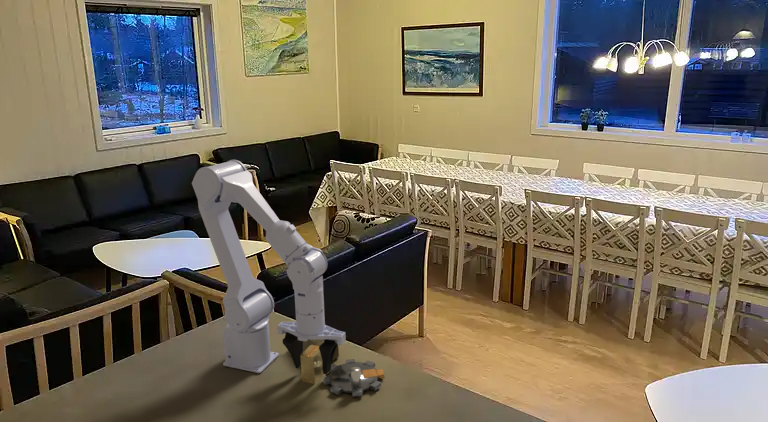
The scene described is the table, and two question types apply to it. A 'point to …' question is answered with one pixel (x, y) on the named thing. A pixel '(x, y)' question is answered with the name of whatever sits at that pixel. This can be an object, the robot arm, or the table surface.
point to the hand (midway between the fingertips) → (313, 368)
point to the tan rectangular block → (311, 364)
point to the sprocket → (353, 377)
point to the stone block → (318, 343)
